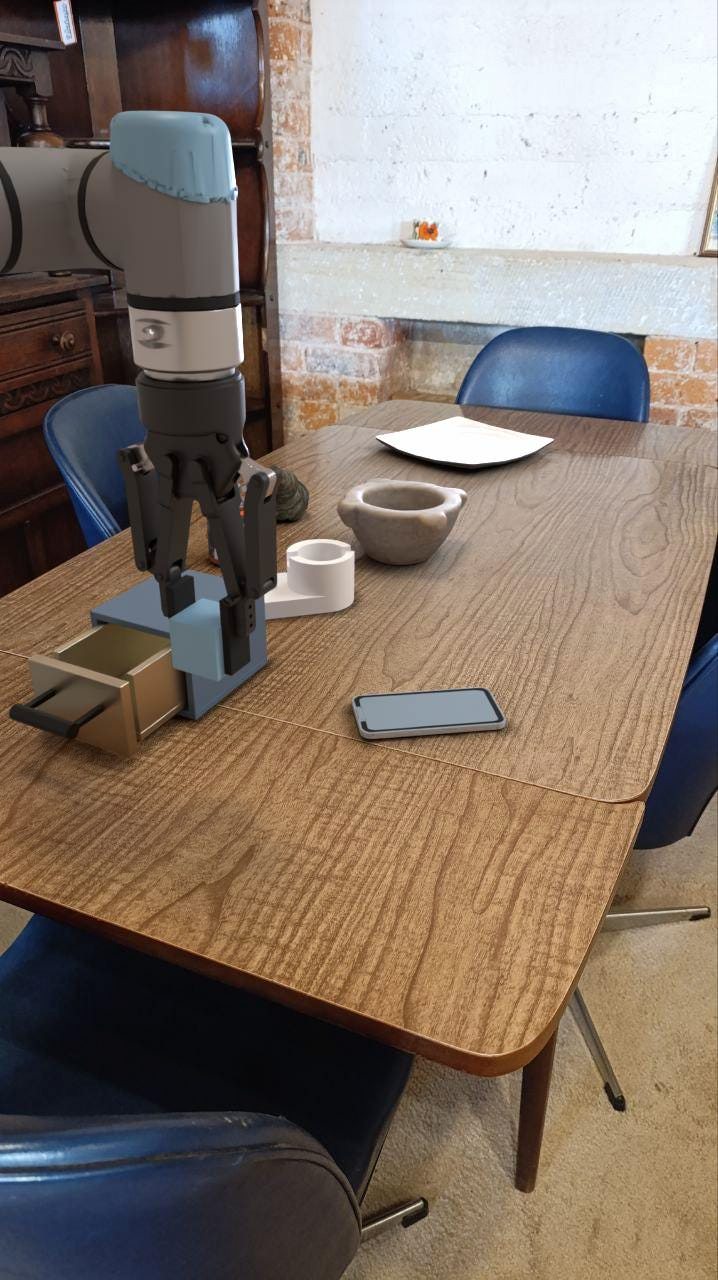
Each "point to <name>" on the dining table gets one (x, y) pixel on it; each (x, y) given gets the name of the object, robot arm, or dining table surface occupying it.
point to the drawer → (105, 688)
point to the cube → (198, 640)
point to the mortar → (400, 518)
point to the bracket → (313, 580)
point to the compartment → (146, 615)
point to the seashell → (291, 497)
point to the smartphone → (427, 712)
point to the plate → (464, 443)
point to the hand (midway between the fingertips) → (211, 659)
